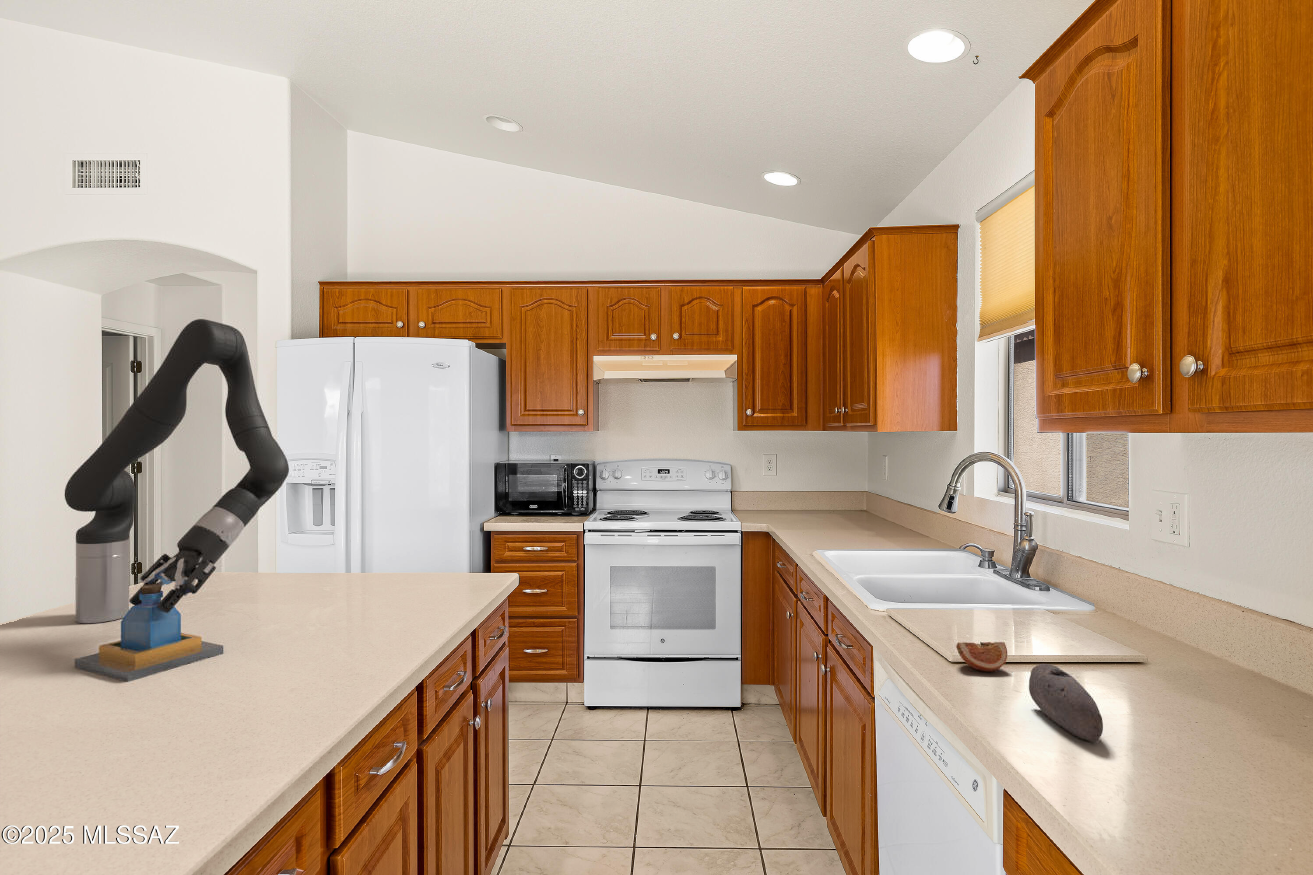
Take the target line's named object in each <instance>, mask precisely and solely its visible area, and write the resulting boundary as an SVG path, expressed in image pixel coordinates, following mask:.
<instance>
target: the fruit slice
mask: <svg viewBox="0 0 1313 875" xmlns="http://www.w3.org/2000/svg"><path fill="white" fill-rule="evenodd" d="M955 648H956V649H957V653H958V655H959V656H960V658H961V659H962V661H964V663H966V664H967V665H968V666H969V667H971V668H973V669H975V670H977V671H981V672H984V673H985V672H986V673H988V672H989V673H990V672H994V671H998V670H999V669H1000V668H1002V667H1003V666H1004V665H1005V664H1006V661H1007V660H1008V649H1007V644H1006V643H1005V642H1004V641H994V642H991V641H987V642H982V641H980V642H979V643H975V642H965V641H963V642H957V643H956V646H955Z"/></svg>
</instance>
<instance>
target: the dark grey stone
mask: <svg viewBox="0 0 1313 875" xmlns="http://www.w3.org/2000/svg"><path fill="white" fill-rule="evenodd" d="M1028 683H1029V684H1028V692H1029V695H1030V696H1031V697H1030V698H1031V699H1032V702H1034V703H1035V705H1036V706H1037V707H1038V708H1039V710H1040V711H1041V712H1042V713H1043V715H1045V716H1046V717H1047V718H1048V719H1050V720H1051V721H1053V723H1055V724H1057V725H1058V726H1059V727H1061V728H1062V729H1064V730H1065V731H1067V732H1069V733H1070V734H1072V735H1073V736H1074V737H1077V738H1080V739H1081V740H1085V741H1089V742H1096V741H1098V740H1099V739H1100V738H1101V737H1102V735H1103V732H1104V731H1103V730H1104V723H1103V722H1104V721H1103V717H1102V714H1101V713H1100V709H1099V707H1098V705H1097V703H1096V700H1094V697H1092V695H1091V694H1090V693H1089V692H1088V691H1087V690H1086V688H1085V687H1084V686H1083V685H1081V683H1080V682H1078V680H1077V679H1076V678H1074V676H1072V675H1071V674H1069V673H1068V672H1066V671H1064V670H1063V669H1061V668H1059V667H1058V666H1056V665H1053V664H1049V663H1048V664H1047V663H1041V664H1037V665H1035V666H1033V667H1032V668H1031V671H1030V676H1029V681H1028Z"/></svg>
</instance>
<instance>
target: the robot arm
mask: <svg viewBox="0 0 1313 875" xmlns="http://www.w3.org/2000/svg"><path fill="white" fill-rule="evenodd" d="M205 364H208V365H212V366H213V365H214V366H218V367H219V369H220V371H221V373H222V375H223V377H224V379H225V381H226V382H225V383H226V385H227V396H226V401H225V406H224V408H225V410H224V412H225V419H226V423H227V426H228V428H229V432H230V433H231V436H232V438H233V441H234V443H235V446H236V447H237V449H238V450H239V451H241V452H242V453H244V455H245V457H246V459H247V462H248V464H249V469H248V471H247V472H246V474H245V475H244V476H243V477H242V478H241V479H240V480H239V481H238V482H237V484H236V485H235V486H234V487H233V488H230V489H229V490H228V491H226V492H225V493H224V494H223V495H222V496H221V497H220V498H219V499H218V501H216V503H215V504H214V505H213V506H212V507H211V508H209V510H207V512H205V513H204V514H203V515H202V516H201V517H200V518H199V519H198V520H197V521H196V522H195V523H194V524H193V525H192V526H191V527H190V528H189V529H188V531H187V532H185V534H184V535H183V536H182V537H181V538H180V539H179V540H178V542H177V544H176V546H177V549H178V552H177V553H176V554H174V555H173V556H170V555H168V554H167V553H163V554H162V555H161V556H160V557H159V558H158V559H157V560H156V561H155V562H154V563H153V564H152V565H151V566H149V568H148V569H147V570H146V571H145V572H144V573H143V574H142V575H141V576H140V578H139V579H140V580H141V581H142V583H143V585H142V586H145V585H151V584H162V587H163V586H165V585H170V584H172V583H174V582H175V583H174V586H173V589H172V588H171V589H170V590H169V592H167V593H166V595H165V596H163V597H162V598H161V602H160V603H159V604H158V605H157V608H158V609H160V610H161V611H163V612H165V613H168V612H170V610H171V609H172V608H173V607H175V606H176V605H177V604H178V603H179V601H180V600H181V599H182V598H183V597H186V596H188V595H189V594H190V593H191V594H192V595H195V594H196V593H197V592H198V591H199V590H200V589H201V588H202V587H203V586H204V584H205V583H206V582H207V580H208V579H209V578H210V576H211V575H212V574H213V573H214V572H215V570H216V568H217V567H216V566H215V564H216V563H217V562H218V561H219V559H220V558H221V557H222V556H223V555H224V553H226V552H227V551H228V549H229V548H230V547H231V546H232V545H233V543H234V542H235V541H236V540H237V539H238V537H239V536H240V534H241V533H242V531H243V530H244V528H245V527H246V526H247V525H248V524H249V523H250V522H251V521H252V519H253V518H254V517H255V516H256V515H257V513H258V511H259V510H261V508H262V506H264V505H265V504H267V502H268V501H269V500H271V499H272V497H273V496H274V495H275V494H276V493H277V492H278V491H279V489H280V488H282V487H283V484H284V483H285V481H286V479H287V477H288V476H289V471H290V467H289V462H288V460H287V456H286V454H285V453H284V451H283V449H282V448H281V446H280V445H279V443H278V442H277V440H276V439H275V438H274V437H273V433H272V431H271V429H270V426H269V424H268V420H267V418H266V416H265V414H264V413H265V412H264V411H263V409H262V406H261V403H260V400H259V396H258V394H257V389H256V385H255V380H254V374H253V370H252V365H251V361H250V356H249V351H248V346H247V343H246V341H245V338H244V336H243V333H242V332H241V331H240V330H238V328H236V327H234V326H231V325H229V324H225V323H221V322H218V321H214V320H210V319H205V318H204V319H203V318H198V319H195V320H192V321H190V322H189V323H187V325H186V326H184V327H183V329H182V330H181V331H180V333H179V334H178V336H177V337H176V339H175V341H174V343H173V345H172V346H171V348H170V350H169V351H168V353H167V355H166V357H165V358H164V360H163V362H162V363H161V365H160V366H159V368H158V369H157V371H156V372H155V374H153V377H152V378H151V379H150V380H149V382H148V383H147V385H146V386H145V387H144V389H143V390H142V391H141V392H140V394H139V395H138V396H137V397H136V398H135V400H134V401H133V402H132V403H131V405H130V406H129V407H128V409H127V410H126V411H125V413H124V414H123V416H122V417H121V419H120V421H119V422H117V424H116V425H115V427H114V428H113V429H112V430H111V432H109V434H108V435H107V437H105V439H104V441H102V443H101V444H100V445H99V447H97V449H96V450H95V451H94V452H92V454H91V455H90V456H89V457H88V458H87V459H86V460H85V461H84V462H83V463H82V464H81V465H80V466H79V467H78V468H77V469H76V470H75V472H74V473H73V474H72V475H71V477H70V478H69V479H68V481H67V482H66V485H65V488H64V500H65V502H66V504H67V506H68V507H69V508H71V509H72V510H75V511H77V512H83V513H84V512H86V513H87V512H88V513H89V512H94V516H93V517H92V519H91V520H90V521H89V522H87V523H85V525H83V526H82V527H80V528H79V529H77V530H76V533H75V622H77V623H79V624H95V623H105V622H111V621H115V620H120V619H123V618H124V617H125V615H126V614H127V613H128V611H129V610H130V605H132V606H135V605H139V604H142V600H140V593H142V591H141V587H140V588H139V589H138V590H137V591H136V592H135V593H134V594H133V595H132V596H131V597H130V532H131V530H132V529H133V528H132V527H133V526H134V518H135V507H136V506H135V504H136V503H135V502H136V487H135V483H134V480H133V477H132V475H131V474H130V473H129V472H128V471H126V469H127V468H128V467H129V466H130V465H132V464H133V463H134V462H136V461H137V460H138V459H140V458H142V457H144V456H145V455H147V454H150V452H152V451H153V450H155V449H157V448H158V447H159V446H160V445H162V444H163V443H164V442H166V441H167V439H169V437H171V435H172V434H173V432H174V431H175V430H176V429H177V427H178V426H179V425H180V423H181V422H182V421H183V419H184V417H185V416H186V411H187V405H188V404H187V397H188V396H187V394H188V393H187V390H188V386H189V383H190V382H191V380H192V379H193V377H194V376H195V374H196V373H197V372H198V370H199V369H200V368H201V367H202V366H203V365H205ZM196 580H197V582H196Z"/></svg>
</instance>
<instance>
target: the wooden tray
mask: <svg viewBox="0 0 1313 875" xmlns="http://www.w3.org/2000/svg"><path fill="white" fill-rule="evenodd" d="M219 654H220V655H223V654H224V645H222V644H217V643H215V642H214V643H213V642H207V641H203V640H202V636H200V635H195V634H189V633H186V632H185V633H184V632H181V641H177V642H174V643H170V644H166V645H162V646H158V647H154V648H151V649H147V650H143V651H139V652H138V651H133V650H129V649H125V648H121V639H120V640H116V641H113V642H109V643H104V644H100V645H98V652H97V653H93V654H88V655H84V656H81V657H77V658H74V668H75V669H79V670H82V671H85V672H89V673H94V674H97V675H101V676H105V677H108V678H113V679H116V680H120V681H123V682H128V683H129V682H131V681H135V680H138V679H141V678H144V677H148V675H149V676H152V675H154V674H158V672H159V673H162V672H165V670H166V671H168V669H169V670H172V669H175V667H176V668H179V667H181V666H180V665H183V664H186V665H189V664H191V663H190V662H193V663H195V662H194V661H196V662H199V661H198V660H200V661H202V659H203V660H206V659H205V658H207V659H209V658H208V657H210V658H212V657H216V656H220V655H219ZM188 663H189V664H188ZM178 666H179V667H178ZM183 666H184V665H183ZM171 668H172V669H171ZM161 671H162V672H161Z"/></svg>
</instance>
